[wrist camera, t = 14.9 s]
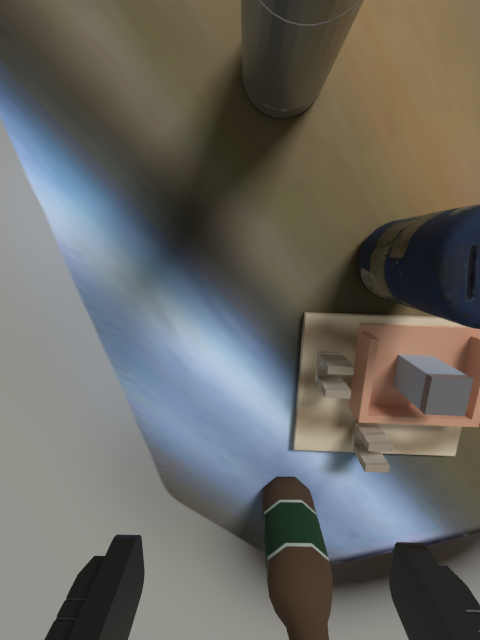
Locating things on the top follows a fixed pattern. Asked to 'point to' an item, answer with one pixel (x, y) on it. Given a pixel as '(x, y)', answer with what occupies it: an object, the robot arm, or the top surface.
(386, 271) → the canister
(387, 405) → the tray
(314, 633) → the beer bottle
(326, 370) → the board
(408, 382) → the grey block
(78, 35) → the top surface
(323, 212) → the top surface
